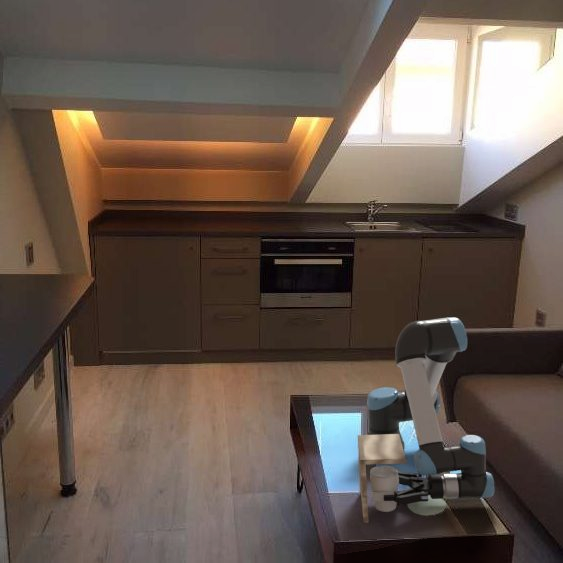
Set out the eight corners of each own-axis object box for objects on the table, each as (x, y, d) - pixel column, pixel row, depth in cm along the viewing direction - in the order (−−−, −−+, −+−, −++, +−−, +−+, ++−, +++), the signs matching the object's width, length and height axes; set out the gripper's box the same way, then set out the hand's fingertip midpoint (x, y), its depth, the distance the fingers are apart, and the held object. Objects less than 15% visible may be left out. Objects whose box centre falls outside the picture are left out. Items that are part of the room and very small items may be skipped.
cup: (399, 514, 193) (398, 478, 191) (370, 513, 195) (368, 478, 193) (400, 500, 202) (398, 465, 200) (372, 498, 204) (370, 464, 202)
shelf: (401, 492, 207) (399, 433, 203) (408, 521, 189) (405, 458, 186) (360, 493, 208) (357, 435, 205) (363, 522, 190) (360, 459, 187)
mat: (418, 492, 206) (418, 491, 206) (452, 502, 198) (452, 501, 198) (400, 508, 197) (400, 507, 197) (435, 520, 189) (435, 518, 189)
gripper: (449, 516, 185) (374, 518, 187) (436, 479, 208) (369, 481, 209) (448, 493, 184) (373, 495, 186) (435, 458, 206) (368, 460, 208)
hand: (371, 488), depth 198 cm, fingers open, 10 cm apart
